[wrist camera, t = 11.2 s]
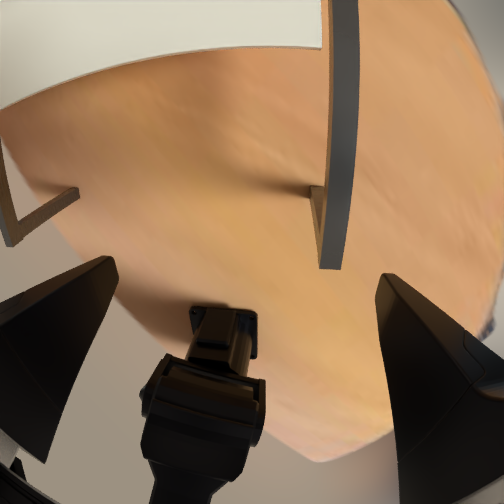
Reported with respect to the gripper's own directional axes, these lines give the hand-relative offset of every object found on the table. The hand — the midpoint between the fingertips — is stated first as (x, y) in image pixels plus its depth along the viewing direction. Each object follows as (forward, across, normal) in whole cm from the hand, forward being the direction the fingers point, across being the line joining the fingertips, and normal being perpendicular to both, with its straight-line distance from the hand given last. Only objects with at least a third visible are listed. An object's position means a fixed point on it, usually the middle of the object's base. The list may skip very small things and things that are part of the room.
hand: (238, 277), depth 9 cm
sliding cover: (+5, +7, -12) cm, 15 cm away
